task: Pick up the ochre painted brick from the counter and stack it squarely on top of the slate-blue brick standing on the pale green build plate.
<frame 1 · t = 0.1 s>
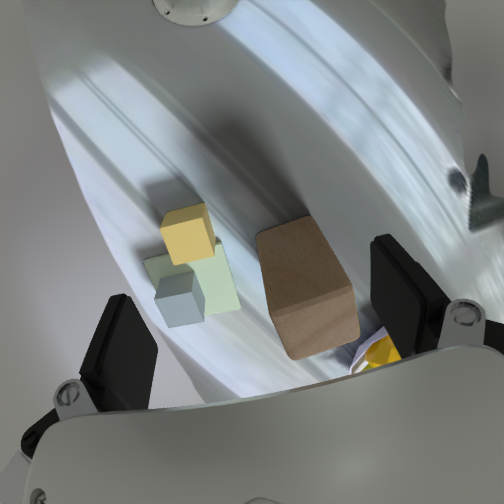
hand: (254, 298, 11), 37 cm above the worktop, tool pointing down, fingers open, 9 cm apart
block: (290, 246, 53), on the worktop
fruit bowl: (387, 346, 69), on the worktop
slate brick: (183, 289, 54), point 1 cm above the worktop, touching build plate
ochre brick: (191, 225, 50), on the worktop
build plate: (194, 283, 55), on the worktop
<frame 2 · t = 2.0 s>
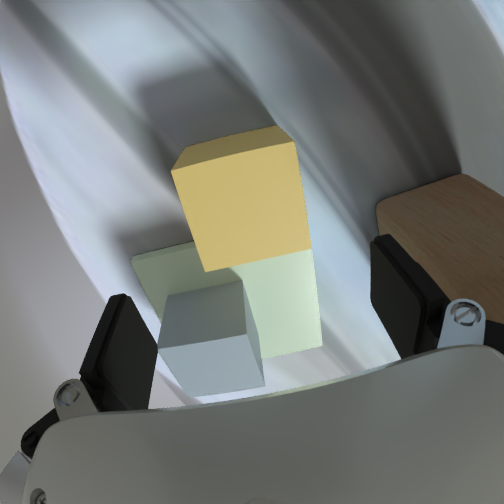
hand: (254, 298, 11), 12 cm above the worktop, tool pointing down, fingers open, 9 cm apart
block: (423, 230, 25), on the worktop
slate brick: (215, 316, 27), point 1 cm above the worktop, touching build plate
ochre brick: (241, 177, 22), on the worktop
build plate: (237, 304, 28), on the worktop
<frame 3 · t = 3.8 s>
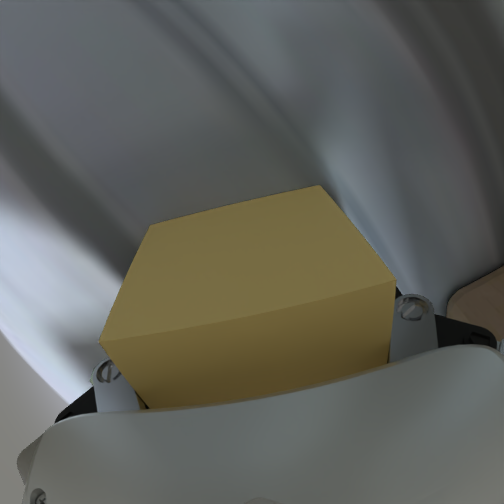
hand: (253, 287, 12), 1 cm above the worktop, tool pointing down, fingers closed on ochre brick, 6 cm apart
block: (491, 314, 16), on the worktop
ochre brick: (252, 276, 13), on the worktop, touching gripper
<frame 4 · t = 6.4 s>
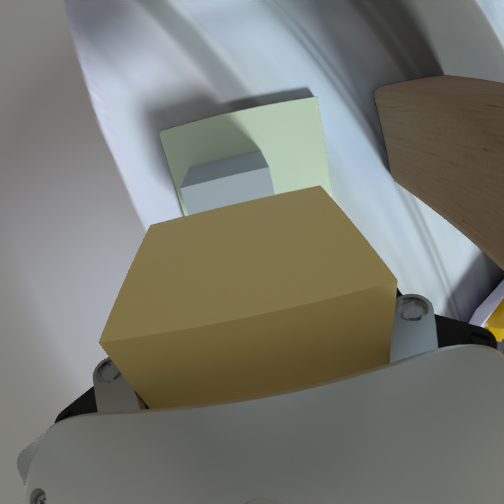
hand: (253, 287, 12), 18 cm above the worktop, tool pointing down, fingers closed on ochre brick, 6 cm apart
block: (418, 125, 27), on the worktop
fruit bowl: (492, 312, 43), on the worktop
slate brick: (233, 191, 28), point 1 cm above the worktop, touching build plate
ochre brick: (252, 276, 13), point 18 cm above the worktop, touching gripper
build plate: (253, 182, 29), on the worktop
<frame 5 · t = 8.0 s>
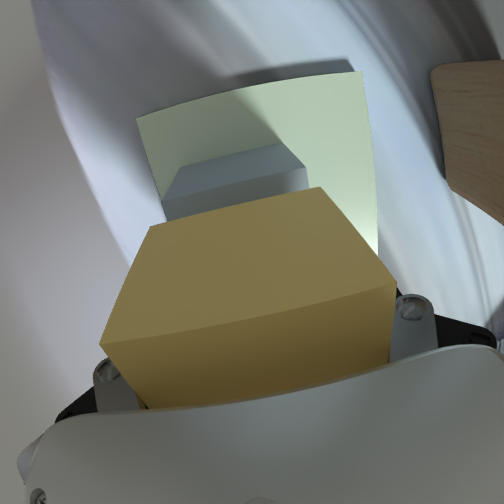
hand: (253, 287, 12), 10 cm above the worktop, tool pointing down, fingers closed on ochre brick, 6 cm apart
block: (476, 119, 18), on the worktop
slate brick: (242, 201, 20), point 1 cm above the worktop, touching build plate
ochre brick: (252, 277, 13), point 9 cm above the worktop, touching gripper
build plate: (271, 189, 21), on the worktop
when the fingers open (9 cm above the worktop, at t = 9.1 s): ochre brick drops 1 cm, resting on slate brick.
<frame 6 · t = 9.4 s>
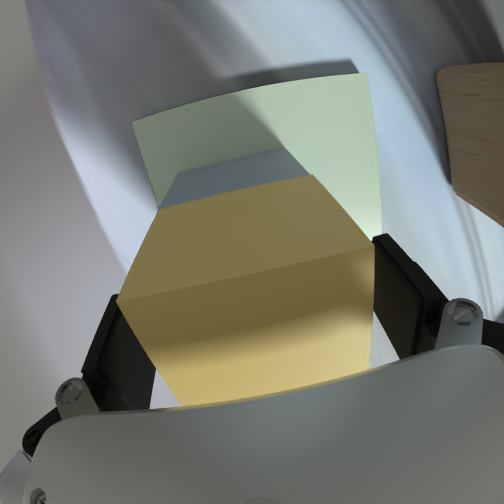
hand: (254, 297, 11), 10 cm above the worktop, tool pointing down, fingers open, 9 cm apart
block: (482, 122, 18), on the worktop
slate brick: (243, 208, 19), point 1 cm above the worktop, touching build plate, ochre brick
ochre brick: (251, 258, 14), point 7 cm above the worktop, touching slate brick
build plate: (273, 195, 20), on the worktop
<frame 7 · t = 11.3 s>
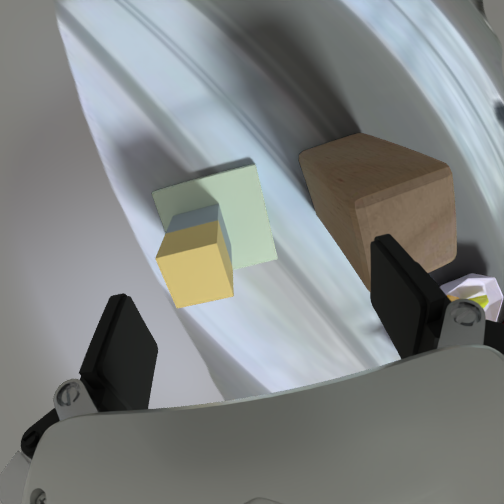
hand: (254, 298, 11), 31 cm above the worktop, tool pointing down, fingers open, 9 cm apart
block: (339, 173, 41), on the worktop
fruit bowl: (438, 316, 56), on the worktop
slate brick: (202, 230, 42), point 1 cm above the worktop, touching build plate, ochre brick
ochre brick: (199, 250, 37), point 7 cm above the worktop, touching slate brick
build plate: (216, 224, 43), on the worktop
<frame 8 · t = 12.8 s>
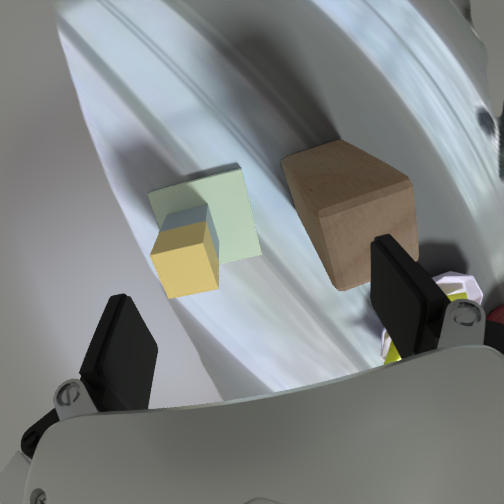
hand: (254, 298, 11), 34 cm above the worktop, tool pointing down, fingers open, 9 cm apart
block: (319, 177, 45), on the worktop
fruit bowl: (418, 311, 61), on the worktop
slate brick: (193, 228, 46), point 1 cm above the worktop, touching build plate, ochre brick
canister: (493, 321, 67), on the worktop
ochre brick: (189, 247, 41), point 7 cm above the worktop, touching slate brick
build plate: (206, 222, 47), on the worktop
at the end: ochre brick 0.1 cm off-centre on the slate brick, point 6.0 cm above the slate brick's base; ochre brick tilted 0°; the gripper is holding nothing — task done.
